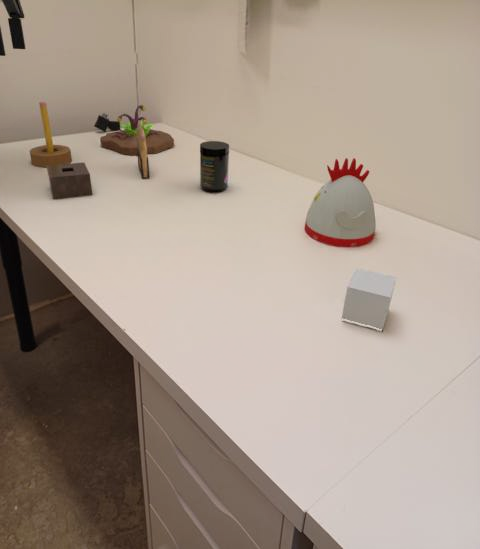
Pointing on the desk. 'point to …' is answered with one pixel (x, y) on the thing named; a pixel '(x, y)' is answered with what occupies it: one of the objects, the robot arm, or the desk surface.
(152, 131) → the plant
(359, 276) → the light grey cube
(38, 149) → the tape roll
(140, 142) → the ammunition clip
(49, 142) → the pencil
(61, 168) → the block
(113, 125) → the lighter
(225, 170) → the supplement container
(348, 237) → the kitchen timer
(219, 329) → the desk surface
